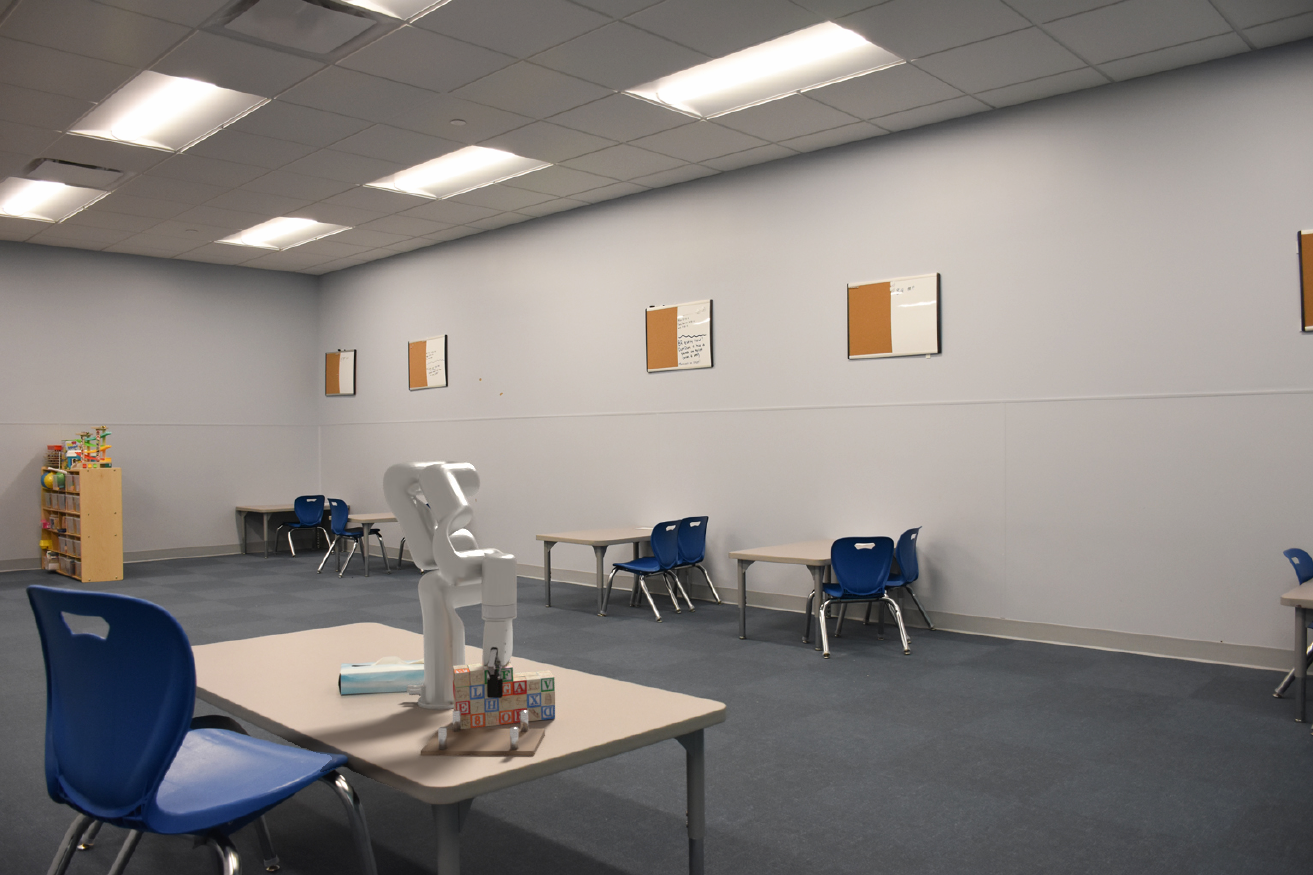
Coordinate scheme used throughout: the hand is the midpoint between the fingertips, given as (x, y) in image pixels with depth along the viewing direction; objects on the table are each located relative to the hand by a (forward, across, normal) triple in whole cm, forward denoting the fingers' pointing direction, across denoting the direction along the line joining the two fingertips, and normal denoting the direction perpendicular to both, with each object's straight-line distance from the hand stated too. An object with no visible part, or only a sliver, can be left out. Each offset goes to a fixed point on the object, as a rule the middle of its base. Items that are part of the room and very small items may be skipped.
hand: (499, 690), depth 200 cm
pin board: (+6, +17, +1) cm, 18 cm away
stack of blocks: (+7, 0, +1) cm, 7 cm away
